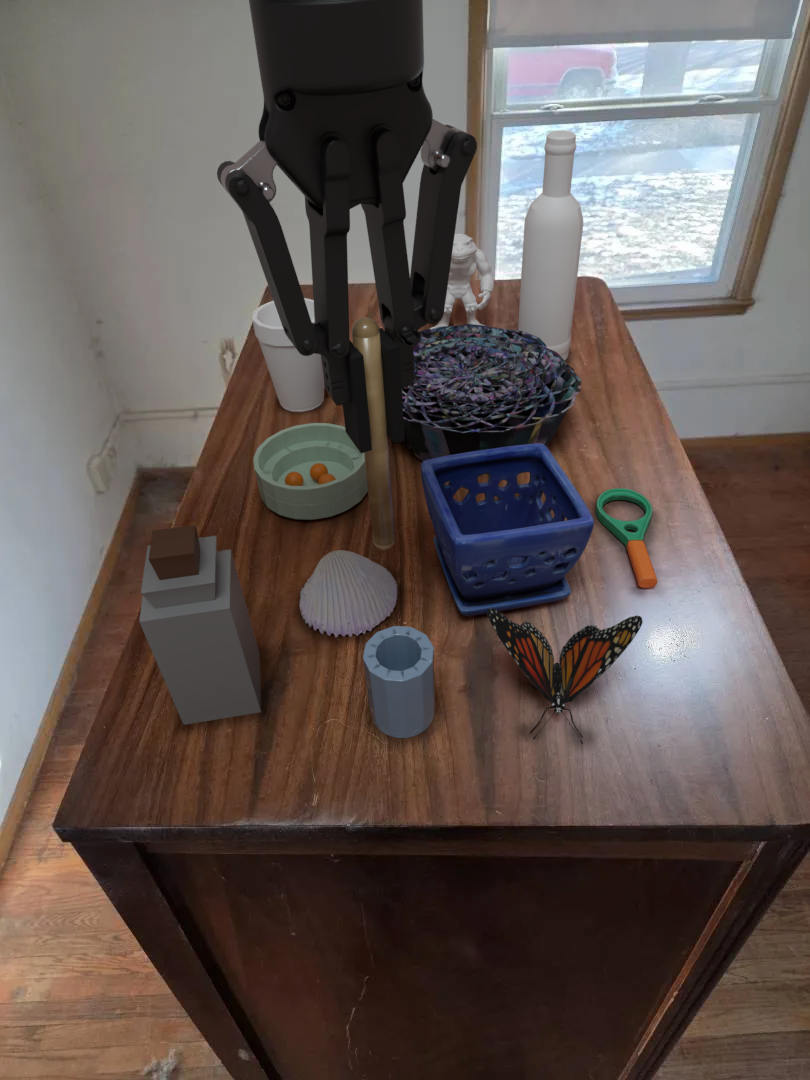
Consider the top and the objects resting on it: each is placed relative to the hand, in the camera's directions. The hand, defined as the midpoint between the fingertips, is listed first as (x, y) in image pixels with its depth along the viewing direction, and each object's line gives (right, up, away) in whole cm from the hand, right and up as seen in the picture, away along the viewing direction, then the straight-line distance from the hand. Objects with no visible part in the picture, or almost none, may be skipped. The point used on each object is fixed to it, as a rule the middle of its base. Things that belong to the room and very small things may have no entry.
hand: (374, 435), depth 47 cm
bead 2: (-8, +1, +41) cm, 42 cm away
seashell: (-4, -13, +28) cm, 31 cm away
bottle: (+23, +21, +64) cm, 71 cm away
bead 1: (-11, 0, +40) cm, 42 cm away
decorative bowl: (+11, +8, +50) cm, 52 cm away
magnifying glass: (+26, -7, +32) cm, 42 cm away
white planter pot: (-13, +13, +57) cm, 60 cm away
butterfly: (+15, -21, +17) cm, 31 cm away
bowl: (-9, 0, +42) cm, 42 cm away
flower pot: (+12, -11, +29) cm, 33 cm away
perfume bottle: (-15, -20, +20) cm, 32 cm away
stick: (0, -7, +6) cm, 10 cm away
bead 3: (-7, 0, +39) cm, 40 cm away
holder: (+2, -22, +17) cm, 28 cm away
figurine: (+11, +27, +71) cm, 77 cm away
